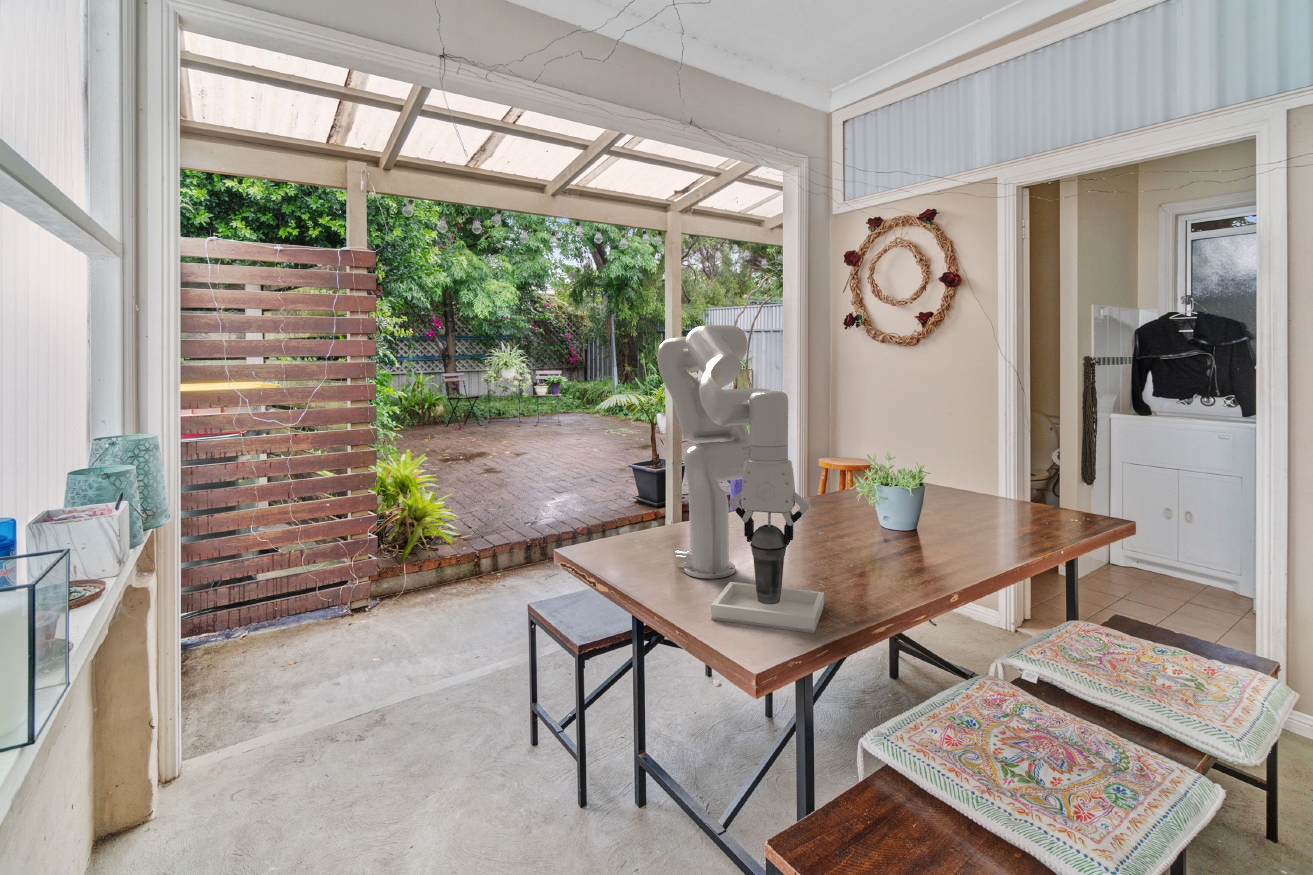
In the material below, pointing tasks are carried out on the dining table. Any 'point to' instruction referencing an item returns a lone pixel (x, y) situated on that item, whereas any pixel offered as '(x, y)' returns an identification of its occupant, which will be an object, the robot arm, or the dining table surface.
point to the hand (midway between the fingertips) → (768, 541)
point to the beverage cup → (768, 562)
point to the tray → (769, 608)
